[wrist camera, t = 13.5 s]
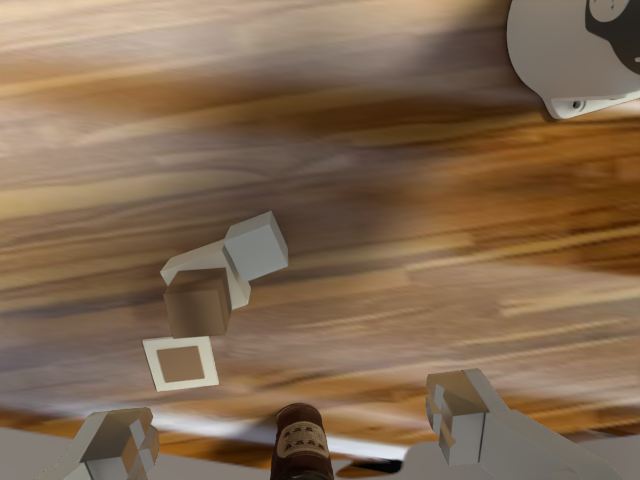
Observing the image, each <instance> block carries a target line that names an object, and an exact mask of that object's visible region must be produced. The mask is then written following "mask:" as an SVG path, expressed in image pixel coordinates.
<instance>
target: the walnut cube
mask: <svg viewBox="0 0 640 480" xmlns="http://www.w3.org/2000/svg"><path fill="white" fill-rule="evenodd" d="M163 296H164V301H165V305H166V310H167V314H168V318H169V323H170V327H171V332H172V336H173V339H180V338H192V337H204V336H216V335H225V332H226V329H227V325H228V321H229V317H230V314H231V310H232V304H231V297H230V291H229V284H228V277H227V271H226V267H224V268H211V269H197V270H183V271H178V272H177V273H176V275H175V277H174V278H173V280H172V281H171V283H170V284H169V286H168V287H167V289H166V291H165V292H164V294H163Z"/></svg>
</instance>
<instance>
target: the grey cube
mask: <svg viewBox="0 0 640 480" xmlns="http://www.w3.org/2000/svg"><path fill="white" fill-rule="evenodd" d="M223 242H224V244H225V246H226V248H227V250H228V252H229V254H230V256H231V258H232V260H233V262H234V264H235V266H236V268H237V270H238V272H239V274H240V276H241V278H242V280H243V282H244V283H245V282H247V281H250V280H253V279H255V278H258V277H261V276H264V275H266V274H269V273H272V272H274V271H277V270H280V269H282V268H285V267H288V247H287V245H286V243H285V241H284V238H283V236H282V234H281V231H280V229H279V227H278V225H277V222H276V220H275V218H274V215H273V213H272V211H269V212H266V213H264V214H261V215H258V216H256V217H253V218H251V219H248V220H245V221H243V222H240V223H237V224H235V225H232V226H230V228H229V230H228V232H227V235H226V237H225V239H224V241H223Z"/></svg>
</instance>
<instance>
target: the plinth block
mask: <svg viewBox="0 0 640 480" xmlns="http://www.w3.org/2000/svg"><path fill="white" fill-rule="evenodd" d="M223 241H224V239H222V240H220V241H217V242H214V243H211V244H208V245H205V246H203V247H200V248H197V249H194V250H191V251H188V252H186V253H183V254H180V255H177V256H174V257H172V258H170V259H169V261H168V262H167V263H166V265H165V266H164V267H163V269H162V270H161V271H160V273H161V275H162V277H163V279H164V280H165V282H166V284H167V286H169V284H170V283H171V281H172V280H173V278H174V277H175V275H176V273H177V272H178V271H183V270H197V269H211V268H224V267H226V271H227V277H228V284H229V291H230V297H231V304H232V310H233V309H236V308H239V307H242V306H245V305H248V302H249V297H250V291H251V287H250V285H249V283H248V281H247V282H245V283H244V282H243V280H242V278H241V276H240V274H239V272H238V270H237V268H236V266H235V264H234V262H233V260H232V258H231V256H230V254H229V252H228V250H227V248H226V246H225V244H224V242H223Z"/></svg>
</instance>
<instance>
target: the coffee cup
mask: <svg viewBox="0 0 640 480" xmlns="http://www.w3.org/2000/svg"><path fill="white" fill-rule="evenodd" d="M276 423H277V427H278V432H277V434H276V443H275V447H274V450H273V455H272V461H271V478H270V480H334V476H333V469H332V466H331V459H330V455H329V450H328V446H327V440H326V436H325V432H324V428H323V425H322V418H321V415H320V413H319V412H318V410H317V409H316V408H315V407H313V406H310V405H307V404H295V405H291V406H289V407H287V408H284V409H283V410H282V411H281V412H280V413H278V415H277V422H276Z"/></svg>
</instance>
